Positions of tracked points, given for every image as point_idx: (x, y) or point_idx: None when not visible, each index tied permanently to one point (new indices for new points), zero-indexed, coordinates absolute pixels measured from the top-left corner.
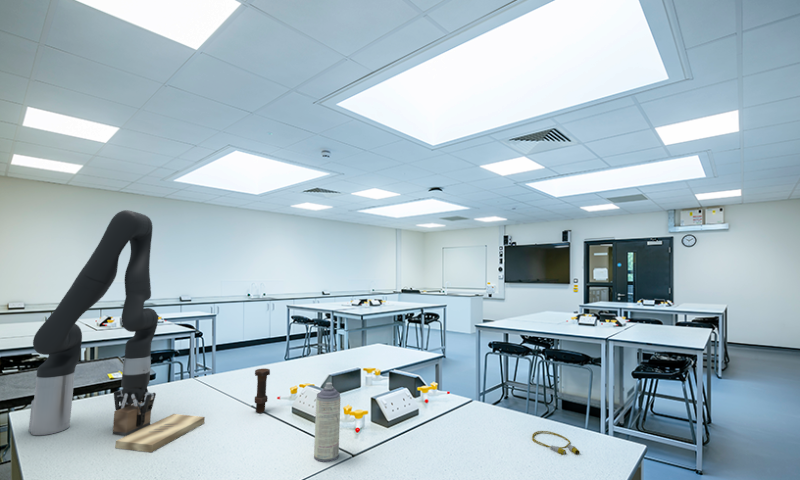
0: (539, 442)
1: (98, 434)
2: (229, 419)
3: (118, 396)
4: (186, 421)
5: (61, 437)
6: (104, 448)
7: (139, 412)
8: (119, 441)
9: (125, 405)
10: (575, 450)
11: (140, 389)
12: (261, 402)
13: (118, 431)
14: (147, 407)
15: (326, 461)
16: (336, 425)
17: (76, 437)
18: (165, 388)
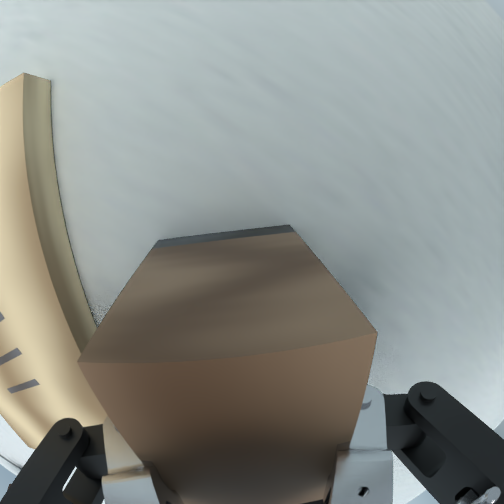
0: None
1: (384, 193)
2: (24, 447)
3: (485, 499)
4: (18, 415)
5: (497, 117)
6: (107, 42)
7: (113, 427)
8: (3, 85)
9: (333, 471)
10: None
11: None
12: (9, 485)
13: (235, 239)
14: (36, 461)
15: None
16: None
17: (452, 124)
18: (414, 489)
